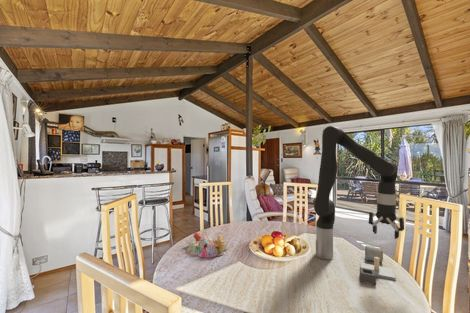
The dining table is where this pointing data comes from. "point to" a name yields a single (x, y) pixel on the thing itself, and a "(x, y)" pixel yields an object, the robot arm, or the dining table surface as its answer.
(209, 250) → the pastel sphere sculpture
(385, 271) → the peg board
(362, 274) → the grey block
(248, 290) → the dining table surface
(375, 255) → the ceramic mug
